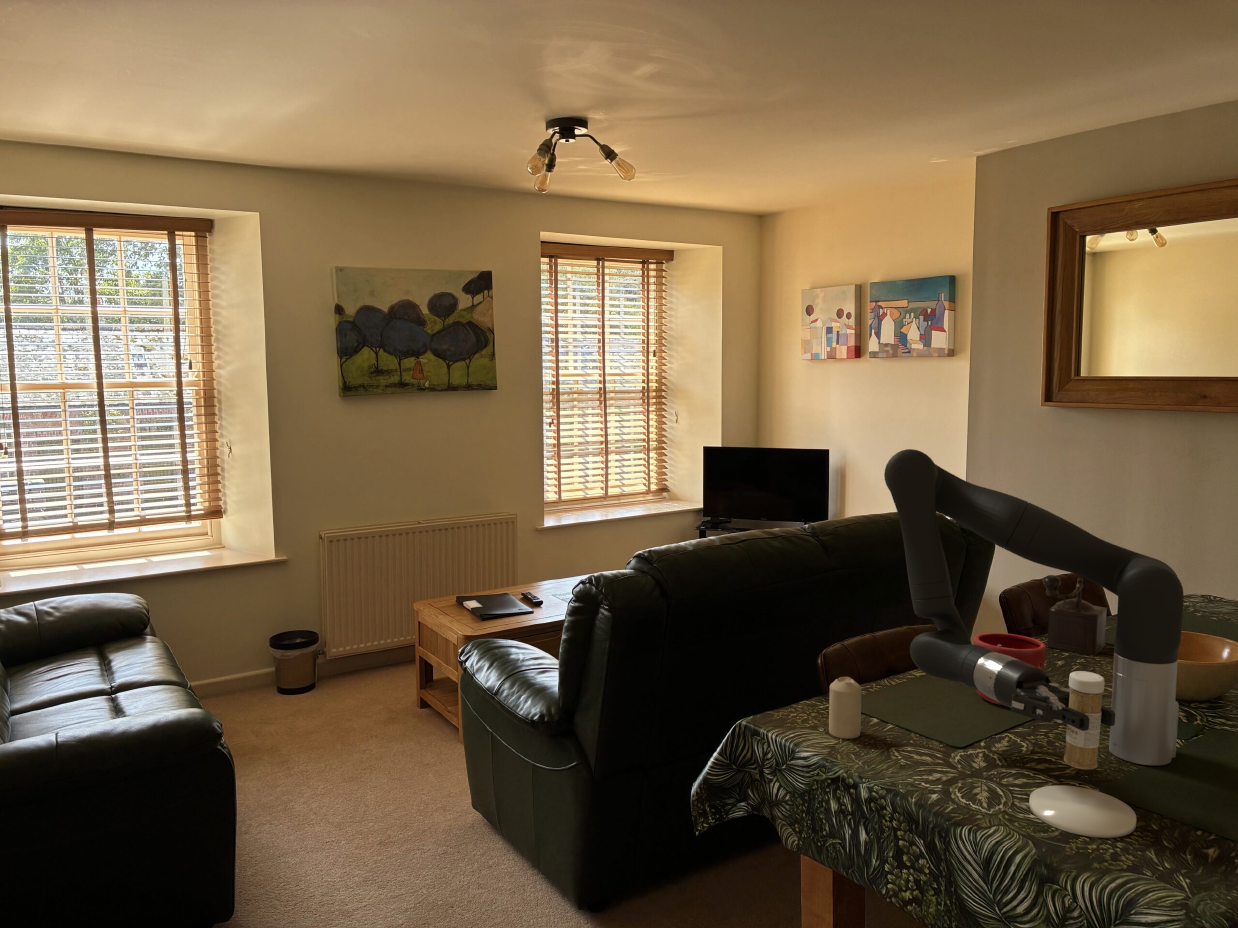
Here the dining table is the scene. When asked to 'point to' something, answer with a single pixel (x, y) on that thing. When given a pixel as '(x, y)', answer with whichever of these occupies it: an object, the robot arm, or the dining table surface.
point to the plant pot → (1013, 650)
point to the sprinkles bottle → (1089, 701)
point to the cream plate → (1082, 811)
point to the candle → (845, 708)
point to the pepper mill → (1074, 621)
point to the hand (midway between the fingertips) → (1099, 721)
